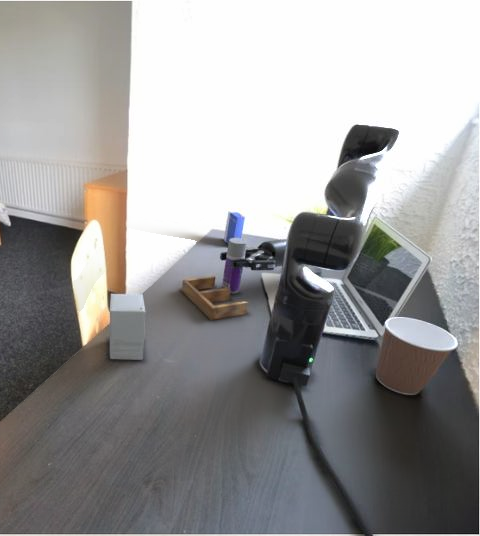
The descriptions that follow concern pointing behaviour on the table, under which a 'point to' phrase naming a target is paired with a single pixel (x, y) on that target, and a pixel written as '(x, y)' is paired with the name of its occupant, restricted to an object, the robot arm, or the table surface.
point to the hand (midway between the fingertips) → (226, 260)
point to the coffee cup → (411, 354)
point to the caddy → (212, 298)
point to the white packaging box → (127, 326)
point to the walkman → (234, 226)
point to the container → (233, 253)
